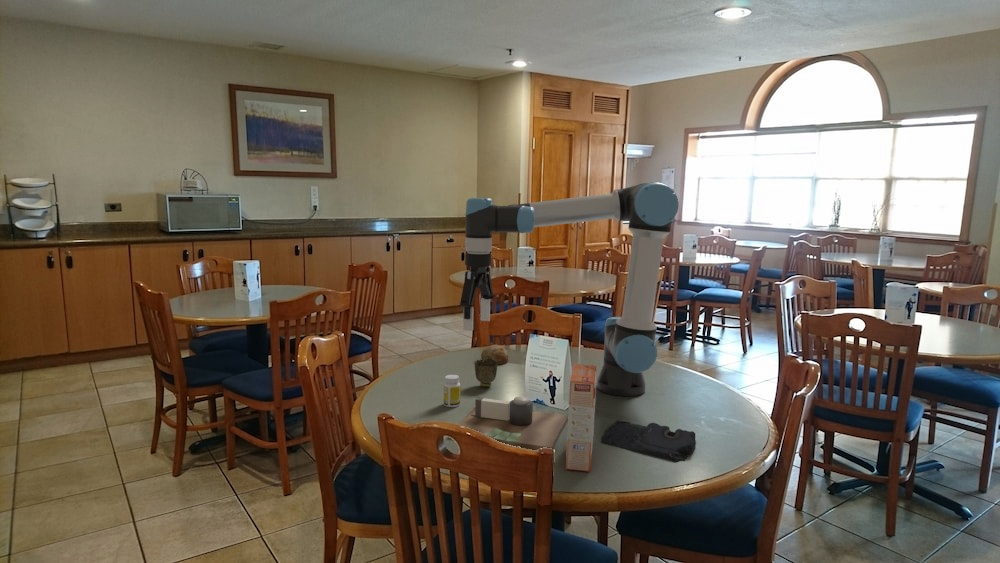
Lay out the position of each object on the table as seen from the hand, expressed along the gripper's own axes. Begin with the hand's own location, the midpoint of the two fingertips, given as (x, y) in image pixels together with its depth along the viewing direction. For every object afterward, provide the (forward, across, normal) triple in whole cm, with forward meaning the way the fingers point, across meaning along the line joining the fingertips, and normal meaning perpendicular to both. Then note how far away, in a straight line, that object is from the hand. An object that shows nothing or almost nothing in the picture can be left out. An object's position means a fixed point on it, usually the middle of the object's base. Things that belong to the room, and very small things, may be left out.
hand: (476, 325), depth 175 cm
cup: (+23, -13, -2) cm, 26 cm away
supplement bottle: (+23, +6, -5) cm, 24 cm away
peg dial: (+21, +15, +14) cm, 29 cm away
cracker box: (+23, +28, +37) cm, 52 cm away
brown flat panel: (+23, +17, +17) cm, 33 cm away
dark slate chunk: (+23, +12, +51) cm, 58 cm away
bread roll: (+23, -42, -9) cm, 48 cm away
